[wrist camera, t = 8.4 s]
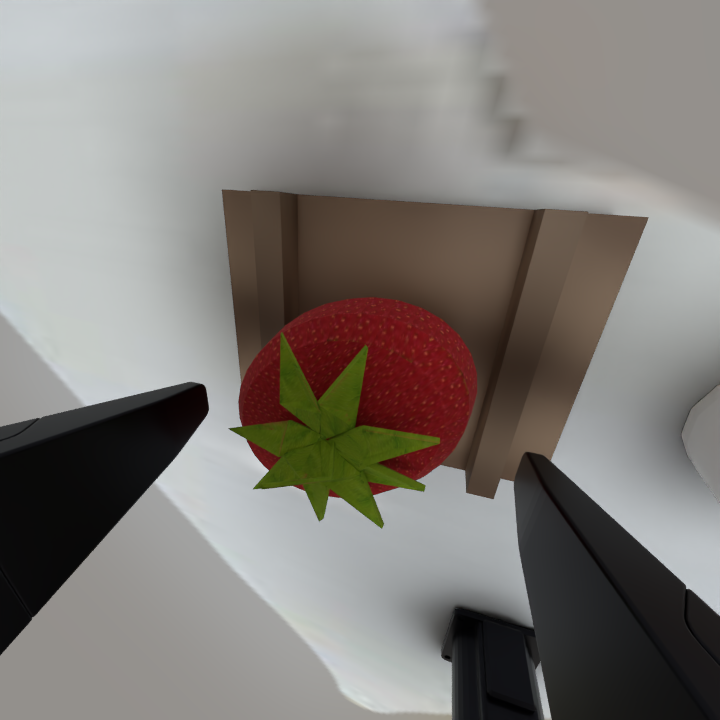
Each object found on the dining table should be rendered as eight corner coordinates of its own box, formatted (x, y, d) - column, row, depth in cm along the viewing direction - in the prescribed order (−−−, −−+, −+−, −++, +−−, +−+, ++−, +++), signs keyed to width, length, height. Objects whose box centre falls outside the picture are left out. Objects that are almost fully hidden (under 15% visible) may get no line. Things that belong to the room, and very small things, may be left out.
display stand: (528, 453, 18) (547, 512, 14) (266, 399, 21) (229, 435, 18) (614, 217, 13) (676, 217, 9) (253, 193, 16) (197, 186, 13)
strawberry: (290, 318, 16) (69, 444, 7) (436, 238, 12) (379, 278, 4) (349, 418, 17) (227, 633, 8) (495, 368, 14) (556, 630, 5)
